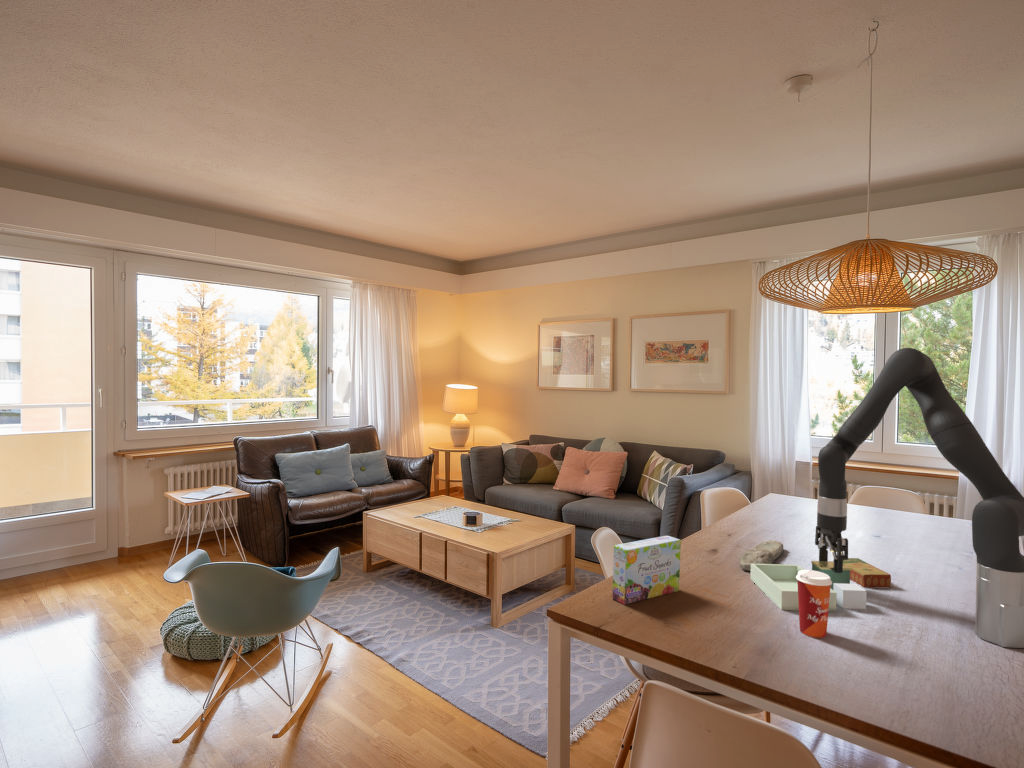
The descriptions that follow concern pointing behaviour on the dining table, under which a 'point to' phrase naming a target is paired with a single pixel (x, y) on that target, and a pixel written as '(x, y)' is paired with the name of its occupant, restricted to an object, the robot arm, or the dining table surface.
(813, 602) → the paper cup
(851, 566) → the carton
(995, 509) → the robot arm
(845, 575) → the tea tin
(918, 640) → the dining table surface
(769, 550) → the long grey stone
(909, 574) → the dining table surface
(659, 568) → the snack box
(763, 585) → the tote
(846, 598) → the white block
